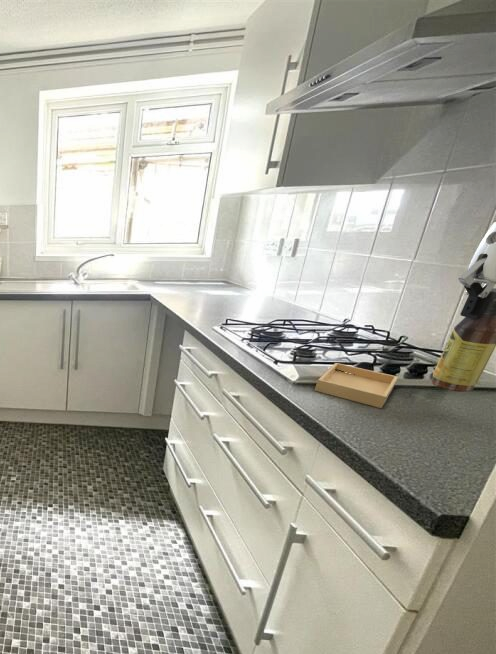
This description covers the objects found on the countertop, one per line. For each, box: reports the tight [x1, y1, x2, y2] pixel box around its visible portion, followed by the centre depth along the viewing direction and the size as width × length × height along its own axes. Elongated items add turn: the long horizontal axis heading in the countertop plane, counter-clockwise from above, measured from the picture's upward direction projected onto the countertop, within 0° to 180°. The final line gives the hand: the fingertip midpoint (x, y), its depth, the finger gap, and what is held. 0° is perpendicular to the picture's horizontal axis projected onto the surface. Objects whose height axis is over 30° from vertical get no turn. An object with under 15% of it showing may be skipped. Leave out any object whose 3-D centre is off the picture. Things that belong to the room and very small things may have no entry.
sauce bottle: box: [431, 287, 496, 393], centre depth 81 cm, size 7×6×20 cm
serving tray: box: [314, 362, 399, 409], centre depth 99 cm, size 17×12×3 cm
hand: (483, 316), depth 79 cm, fingers closed on sauce bottle, 4 cm apart
